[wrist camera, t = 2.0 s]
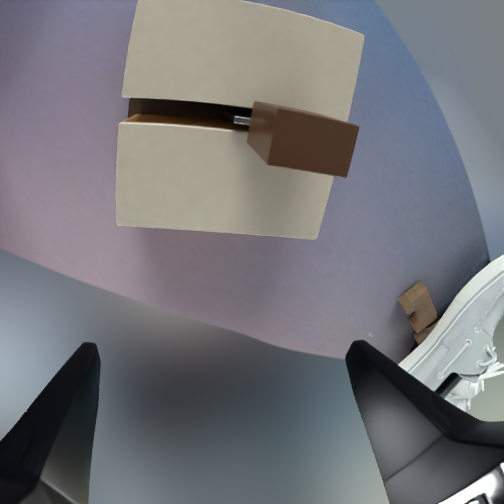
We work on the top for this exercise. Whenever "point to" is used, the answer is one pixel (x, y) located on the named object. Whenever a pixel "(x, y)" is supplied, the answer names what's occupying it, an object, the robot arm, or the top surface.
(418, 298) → the wooden blocks
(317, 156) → the brown wooden block
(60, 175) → the top surface
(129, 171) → the beige cardboard box
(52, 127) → the top surface
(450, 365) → the boat shoe
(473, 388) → the white spiky tuft
